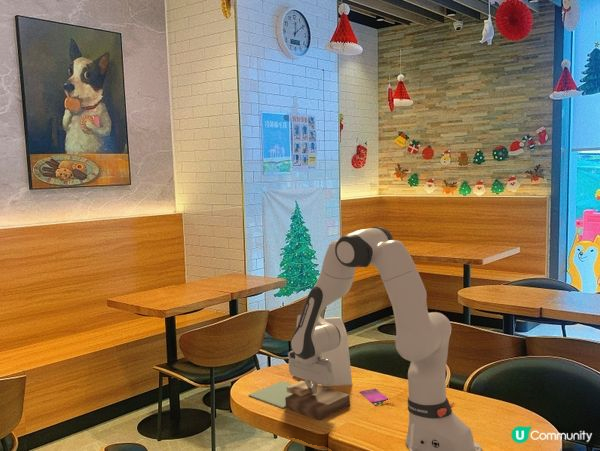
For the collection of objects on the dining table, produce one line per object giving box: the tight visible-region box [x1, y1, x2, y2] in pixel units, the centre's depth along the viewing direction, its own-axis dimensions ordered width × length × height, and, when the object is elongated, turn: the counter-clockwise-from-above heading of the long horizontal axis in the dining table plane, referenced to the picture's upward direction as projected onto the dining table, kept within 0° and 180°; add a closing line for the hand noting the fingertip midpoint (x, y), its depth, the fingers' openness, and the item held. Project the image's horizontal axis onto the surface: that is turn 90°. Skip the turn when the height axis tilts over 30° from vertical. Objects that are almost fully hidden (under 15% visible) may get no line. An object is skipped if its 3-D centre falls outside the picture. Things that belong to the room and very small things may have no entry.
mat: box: [248, 380, 293, 409], centre depth 218 cm, size 20×18×1 cm
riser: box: [285, 384, 351, 421], centre depth 204 cm, size 17×16×4 cm
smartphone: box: [359, 388, 389, 407], centre depth 209 cm, size 7×15×1 cm, turn 17°
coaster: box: [287, 380, 317, 397], centre depth 209 cm, size 8×8×2 cm
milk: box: [321, 316, 353, 387], centre depth 229 cm, size 12×12×26 cm
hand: (312, 391), depth 205 cm, fingers closed
